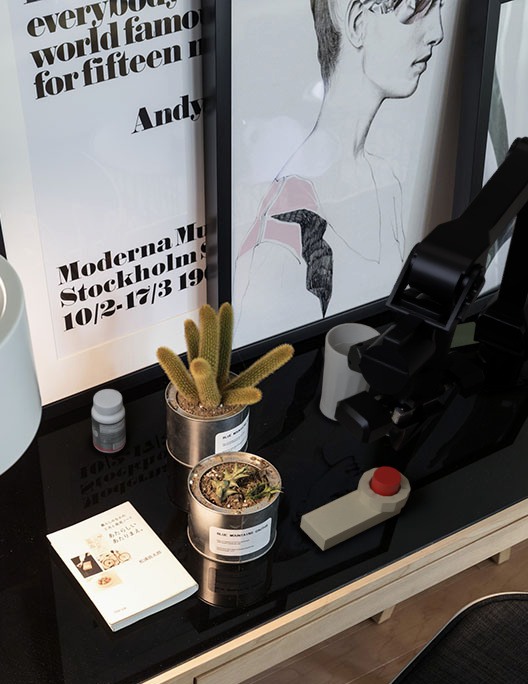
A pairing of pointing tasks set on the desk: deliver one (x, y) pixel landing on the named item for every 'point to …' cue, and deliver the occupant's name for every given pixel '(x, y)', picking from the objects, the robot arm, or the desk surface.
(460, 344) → the dial panel
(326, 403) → the cup
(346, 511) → the button base
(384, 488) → the power button
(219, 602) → the desk surface
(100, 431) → the pill bottle
